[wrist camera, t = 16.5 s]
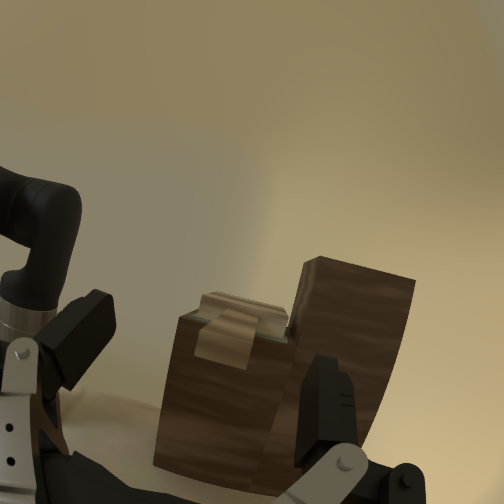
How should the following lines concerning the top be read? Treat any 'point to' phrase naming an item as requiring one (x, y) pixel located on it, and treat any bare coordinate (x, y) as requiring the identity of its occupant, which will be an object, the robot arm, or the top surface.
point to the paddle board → (235, 327)
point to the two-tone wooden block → (279, 379)
